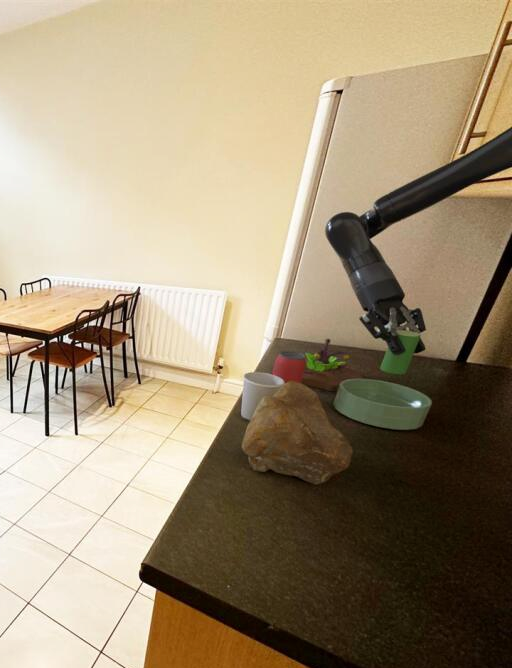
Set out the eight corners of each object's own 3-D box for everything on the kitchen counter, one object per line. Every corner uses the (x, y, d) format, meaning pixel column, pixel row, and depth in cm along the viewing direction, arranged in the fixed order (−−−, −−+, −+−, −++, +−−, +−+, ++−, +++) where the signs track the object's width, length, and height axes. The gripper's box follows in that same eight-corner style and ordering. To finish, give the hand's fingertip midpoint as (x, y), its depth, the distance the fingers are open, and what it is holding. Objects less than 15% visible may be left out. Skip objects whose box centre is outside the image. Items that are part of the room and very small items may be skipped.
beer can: (265, 390, 113) (276, 349, 108) (294, 394, 110) (306, 352, 106) (267, 400, 108) (278, 357, 103) (297, 404, 105) (310, 360, 100)
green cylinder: (391, 366, 96) (405, 329, 92) (411, 373, 92) (426, 335, 88) (374, 367, 96) (388, 330, 92) (393, 375, 92) (409, 336, 88)
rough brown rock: (321, 518, 69) (360, 444, 63) (220, 470, 80) (244, 402, 73) (348, 464, 84) (382, 400, 77) (260, 429, 95) (283, 370, 88)
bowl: (372, 397, 107) (379, 376, 105) (441, 428, 93) (452, 404, 90) (316, 403, 105) (323, 381, 103) (378, 435, 91) (388, 411, 88)
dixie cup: (282, 423, 97) (293, 384, 92) (248, 425, 96) (257, 386, 92) (259, 407, 104) (268, 370, 100) (227, 409, 104) (235, 372, 100)
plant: (363, 374, 120) (376, 338, 116) (359, 398, 107) (373, 357, 103) (283, 360, 133) (292, 326, 128) (270, 379, 120) (280, 342, 115)
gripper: (363, 278, 92) (398, 347, 86) (418, 275, 93) (457, 342, 87) (334, 297, 99) (365, 362, 93) (386, 294, 100) (420, 357, 94)
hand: (409, 352), depth 90 cm, fingers closed on green cylinder, 4 cm apart
